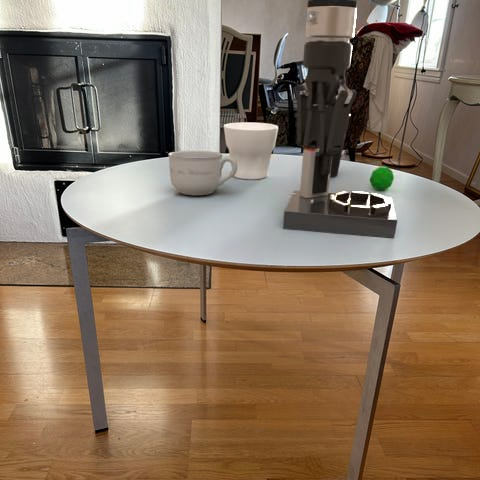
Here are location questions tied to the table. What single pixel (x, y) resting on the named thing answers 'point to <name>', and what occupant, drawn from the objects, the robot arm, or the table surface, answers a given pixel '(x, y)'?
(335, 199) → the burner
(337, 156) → the drinking cup
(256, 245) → the table surface
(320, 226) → the cooktop
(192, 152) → the teacup
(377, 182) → the polyhedron
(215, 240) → the table surface
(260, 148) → the cup
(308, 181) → the upright white panel
